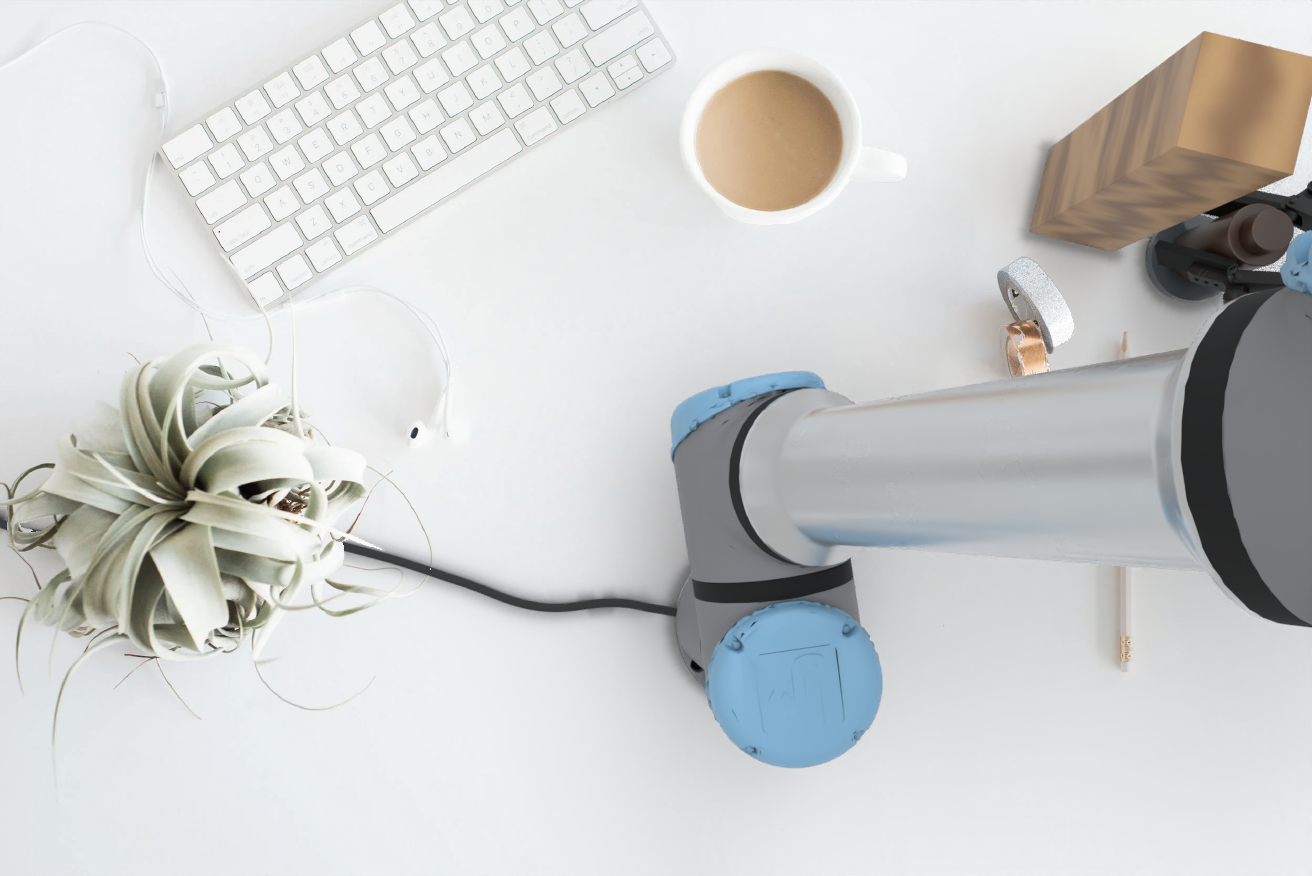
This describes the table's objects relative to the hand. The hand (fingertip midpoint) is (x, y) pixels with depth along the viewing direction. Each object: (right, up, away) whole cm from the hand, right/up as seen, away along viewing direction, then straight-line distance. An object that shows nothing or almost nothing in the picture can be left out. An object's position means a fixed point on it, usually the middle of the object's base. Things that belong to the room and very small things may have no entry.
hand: (1179, 226), depth 74 cm
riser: (-7, +3, +3) cm, 8 cm away
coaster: (+3, -2, +3) cm, 5 cm away
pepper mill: (+3, -2, +2) cm, 4 cm away
